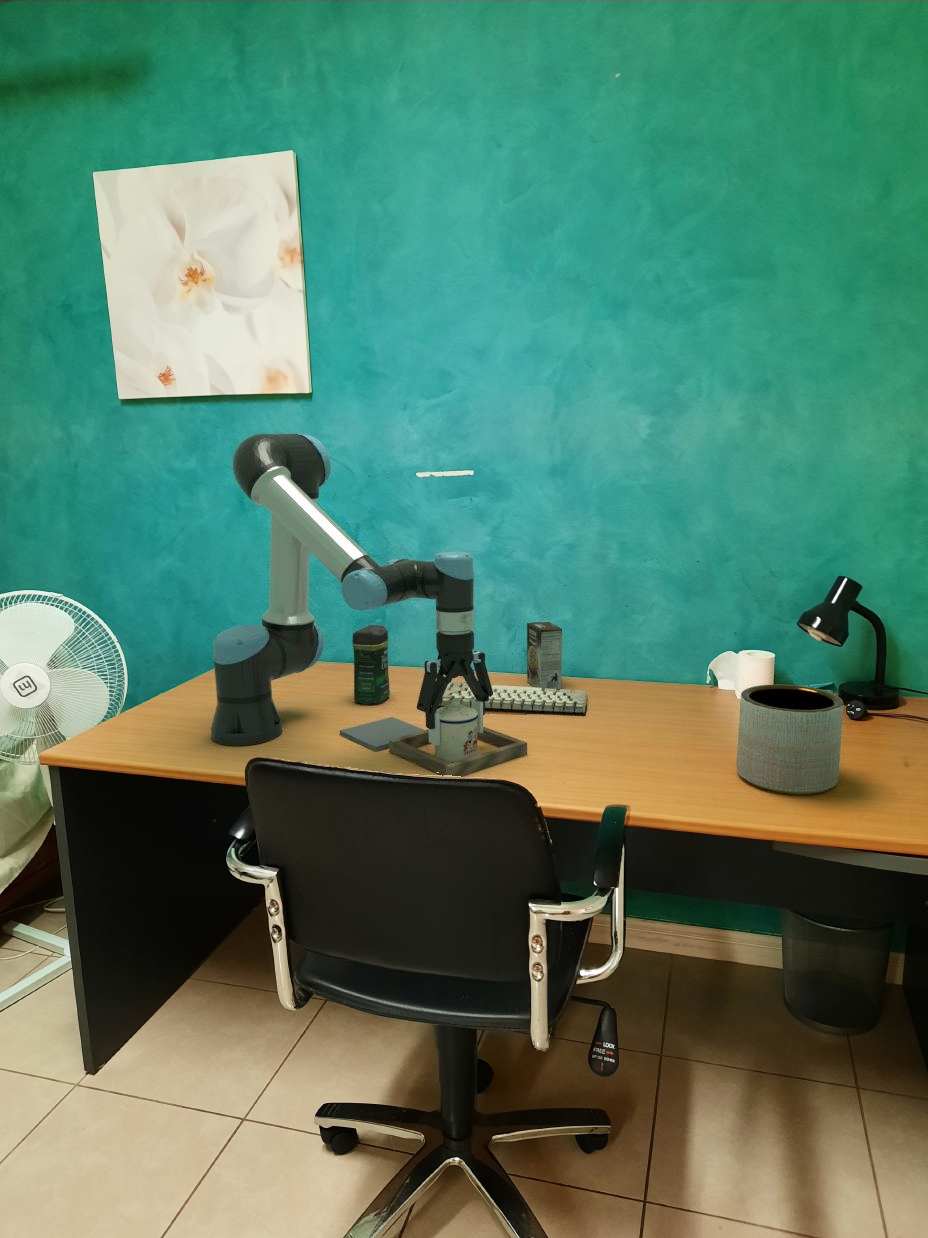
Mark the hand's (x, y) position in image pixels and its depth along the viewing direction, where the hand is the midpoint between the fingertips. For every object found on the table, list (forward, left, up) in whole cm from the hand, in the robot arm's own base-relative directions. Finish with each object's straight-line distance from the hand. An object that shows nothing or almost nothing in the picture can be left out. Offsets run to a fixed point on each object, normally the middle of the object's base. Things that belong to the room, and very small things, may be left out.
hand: (456, 737), depth 170 cm
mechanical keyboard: (+32, +18, -4) cm, 37 cm away
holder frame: (0, 0, -3) cm, 4 cm away
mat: (-5, +19, -3) cm, 20 cm away
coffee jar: (+8, +43, -4) cm, 44 cm away
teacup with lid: (0, 0, -4) cm, 4 cm away
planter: (+37, -51, -4) cm, 63 cm away
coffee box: (+48, +23, -4) cm, 54 cm away
